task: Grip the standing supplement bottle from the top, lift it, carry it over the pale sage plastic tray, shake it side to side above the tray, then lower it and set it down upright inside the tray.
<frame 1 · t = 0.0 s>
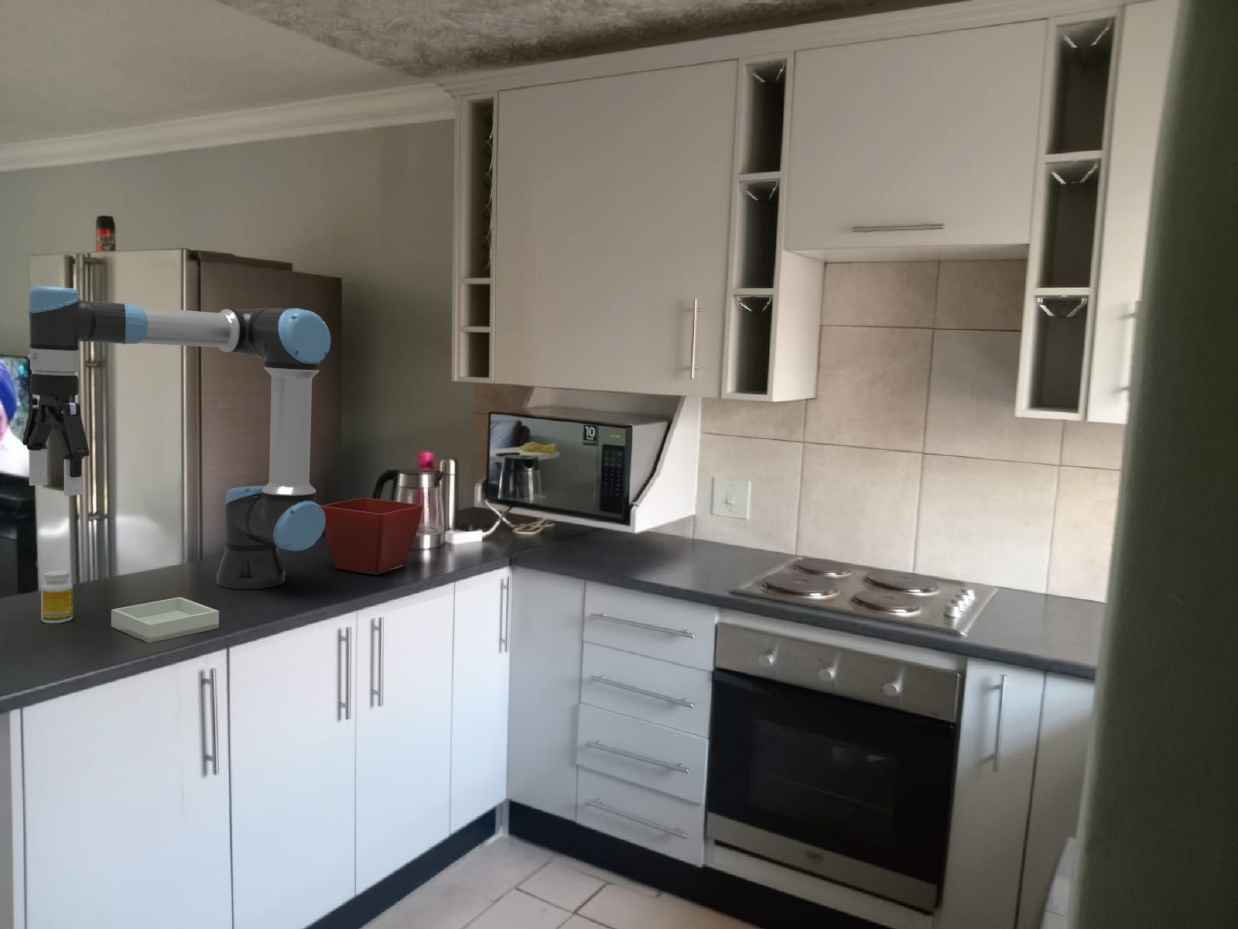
hand: (55, 490, 168), 28 cm above the worktop, tool pointing down, fingers open, 13 cm apart
plant pot: (370, 569, 239), on the worktop
supplement bottle: (57, 621, 181), on the worktop
tray: (165, 627, 181), on the worktop
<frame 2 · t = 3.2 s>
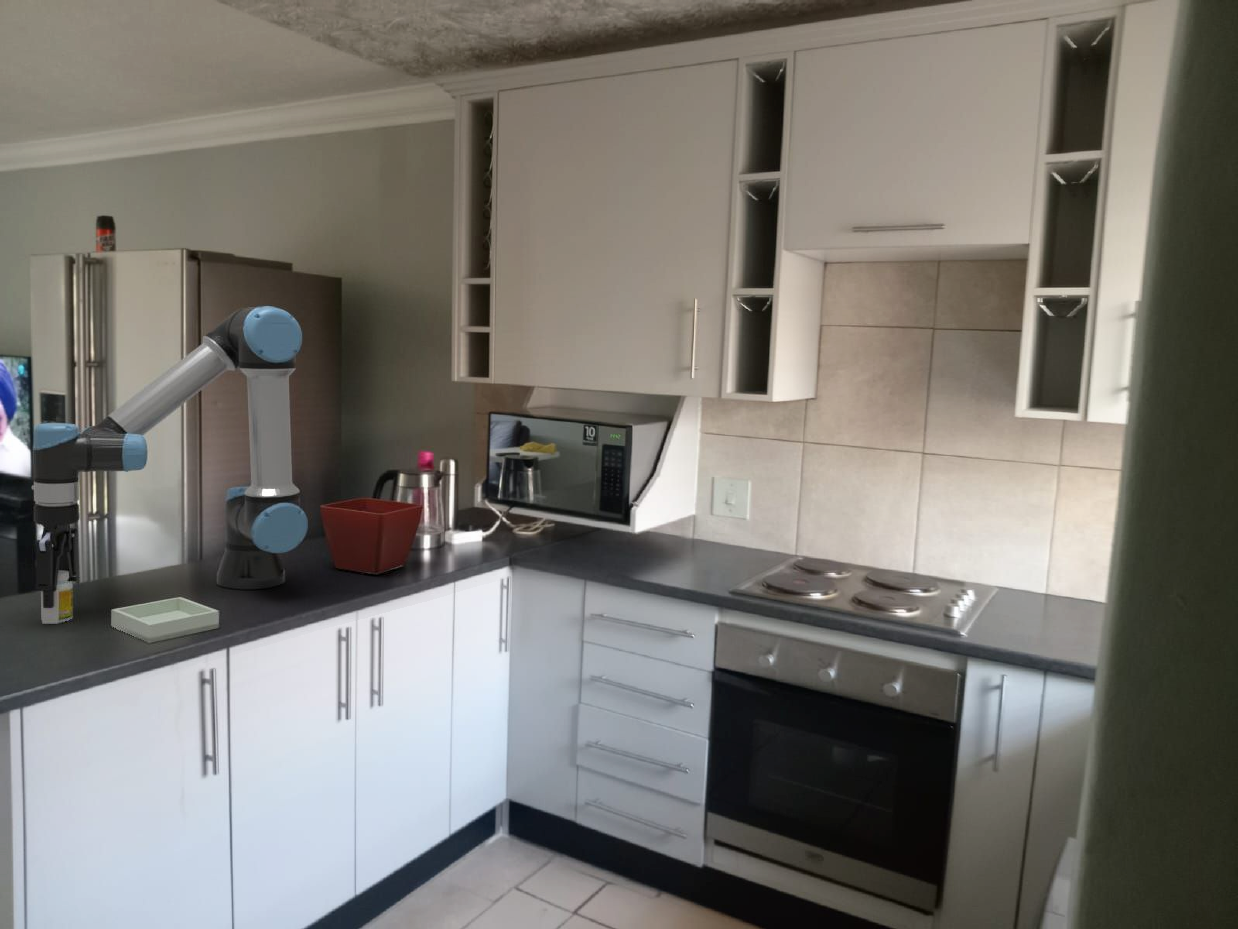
hand: (57, 618, 181), 0 cm above the worktop, tool pointing down, fingers closed on supplement bottle, 5 cm apart
supplement bottle: (57, 621, 181), on the worktop, touching gripper
everything else where it was.
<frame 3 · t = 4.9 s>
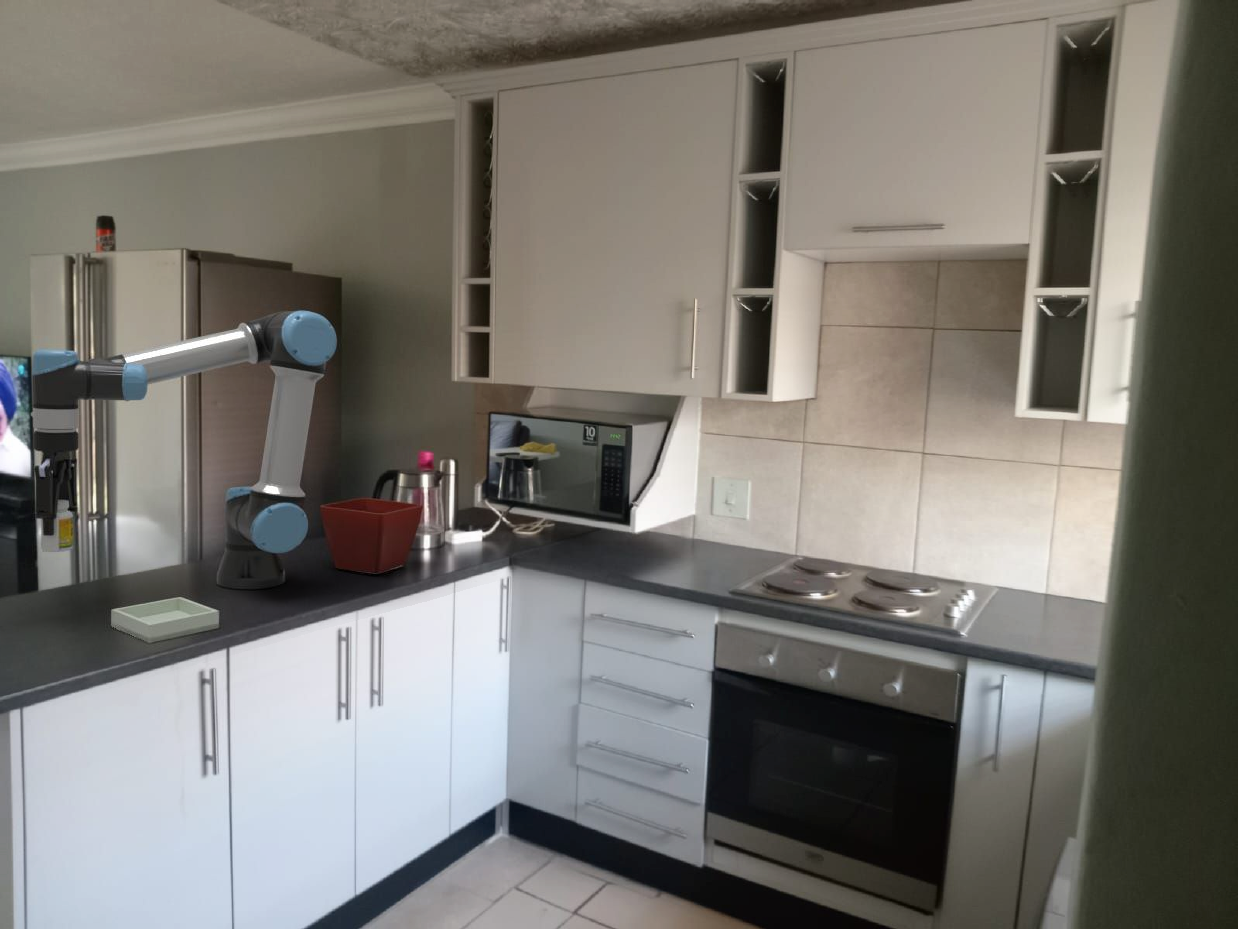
hand: (57, 547, 180), 15 cm above the worktop, tool pointing down, fingers closed on supplement bottle, 5 cm apart
supplement bottle: (57, 550, 180), point 14 cm above the worktop, touching gripper
everything else where it was.
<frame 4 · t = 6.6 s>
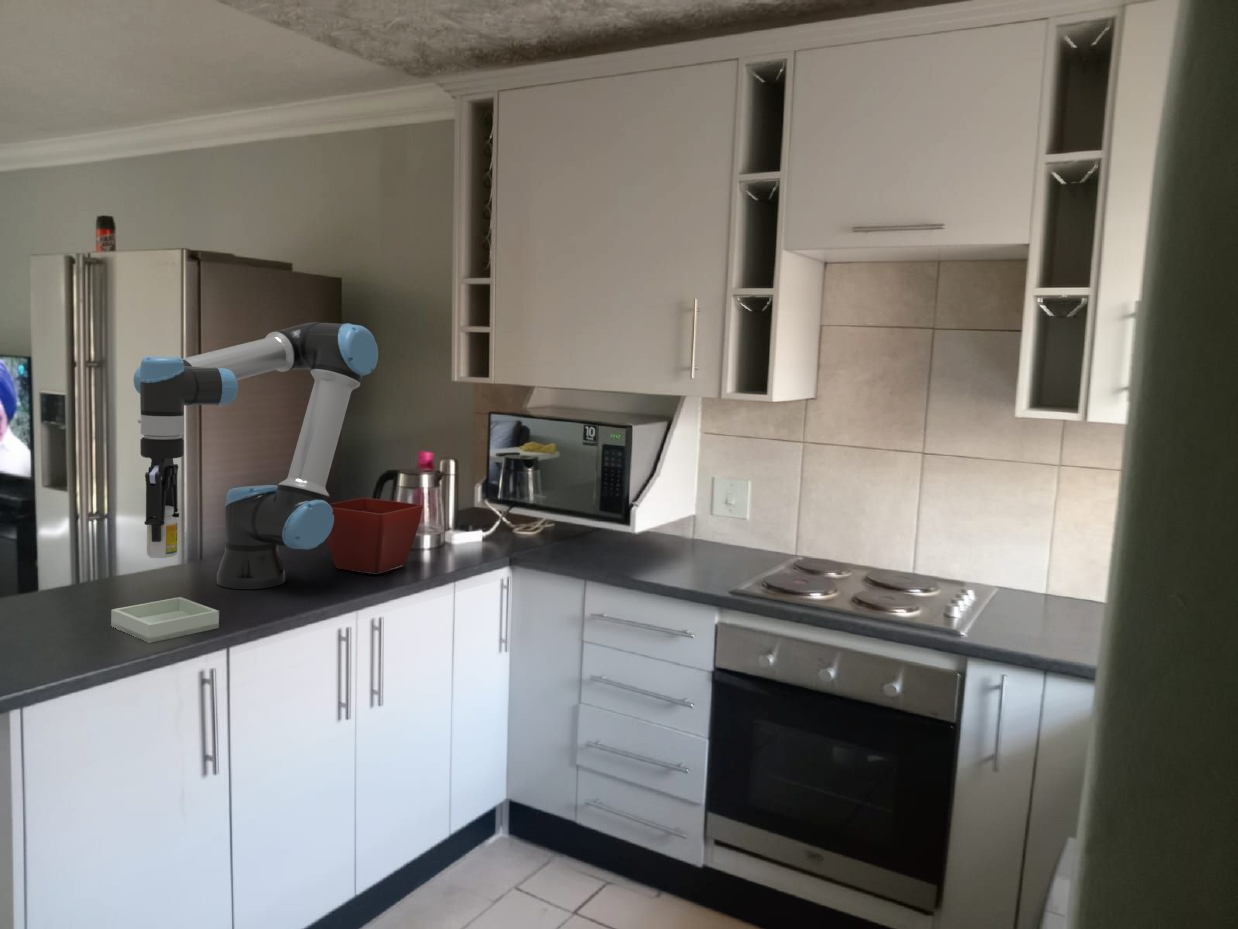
hand: (162, 553, 181), 15 cm above the worktop, tool pointing down, fingers closed on supplement bottle, 5 cm apart
supplement bottle: (162, 556, 181), point 14 cm above the worktop, touching gripper
everything else where it was.
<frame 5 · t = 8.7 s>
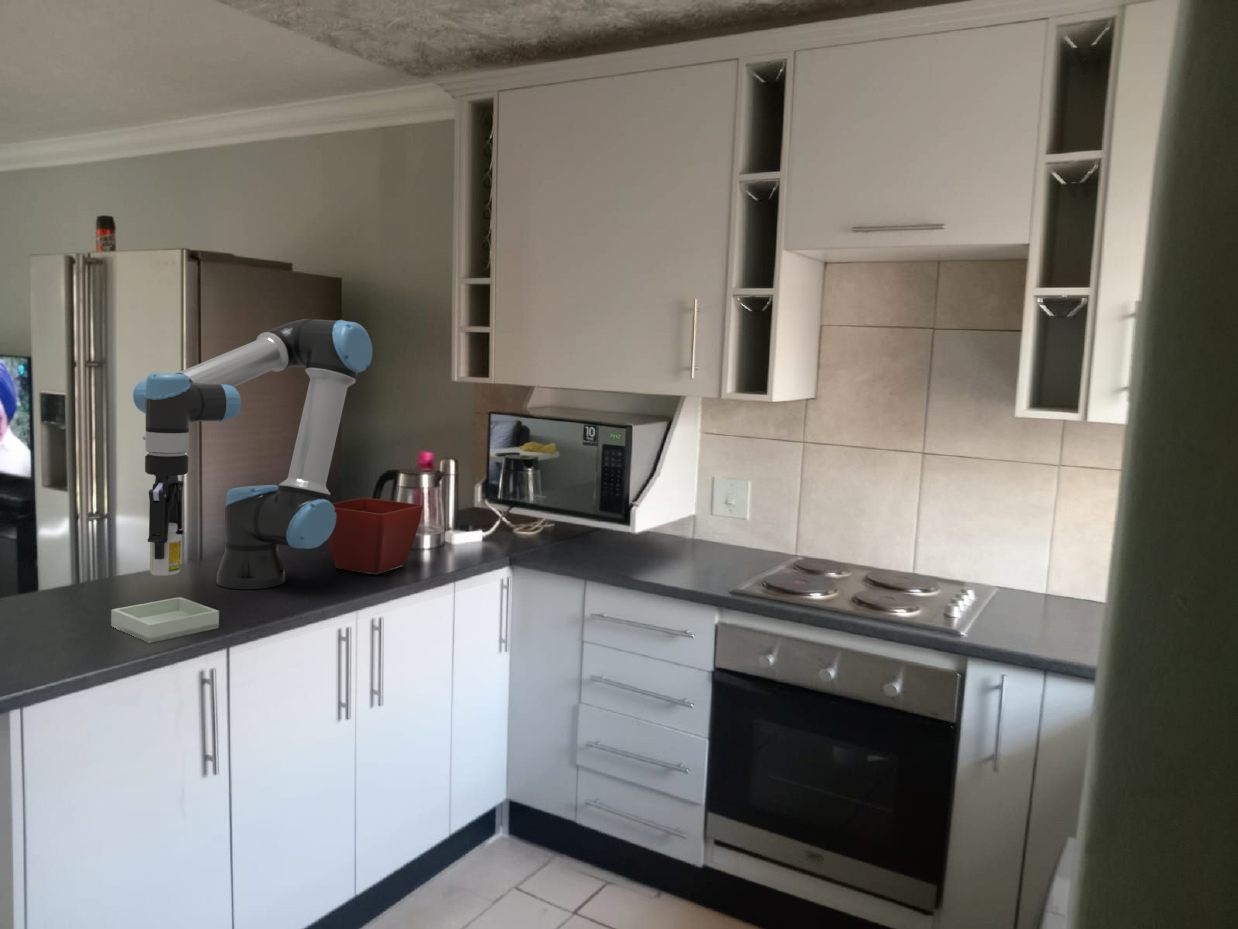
hand: (165, 570, 180), 11 cm above the worktop, tool pointing down, fingers closed on supplement bottle, 5 cm apart
supplement bottle: (165, 573, 180), point 11 cm above the worktop, touching gripper
everything else where it was.
when the fingers open (4 cm above the worktop, at t = 10.2 s): supplement bottle drops 2 cm, resting on tray.
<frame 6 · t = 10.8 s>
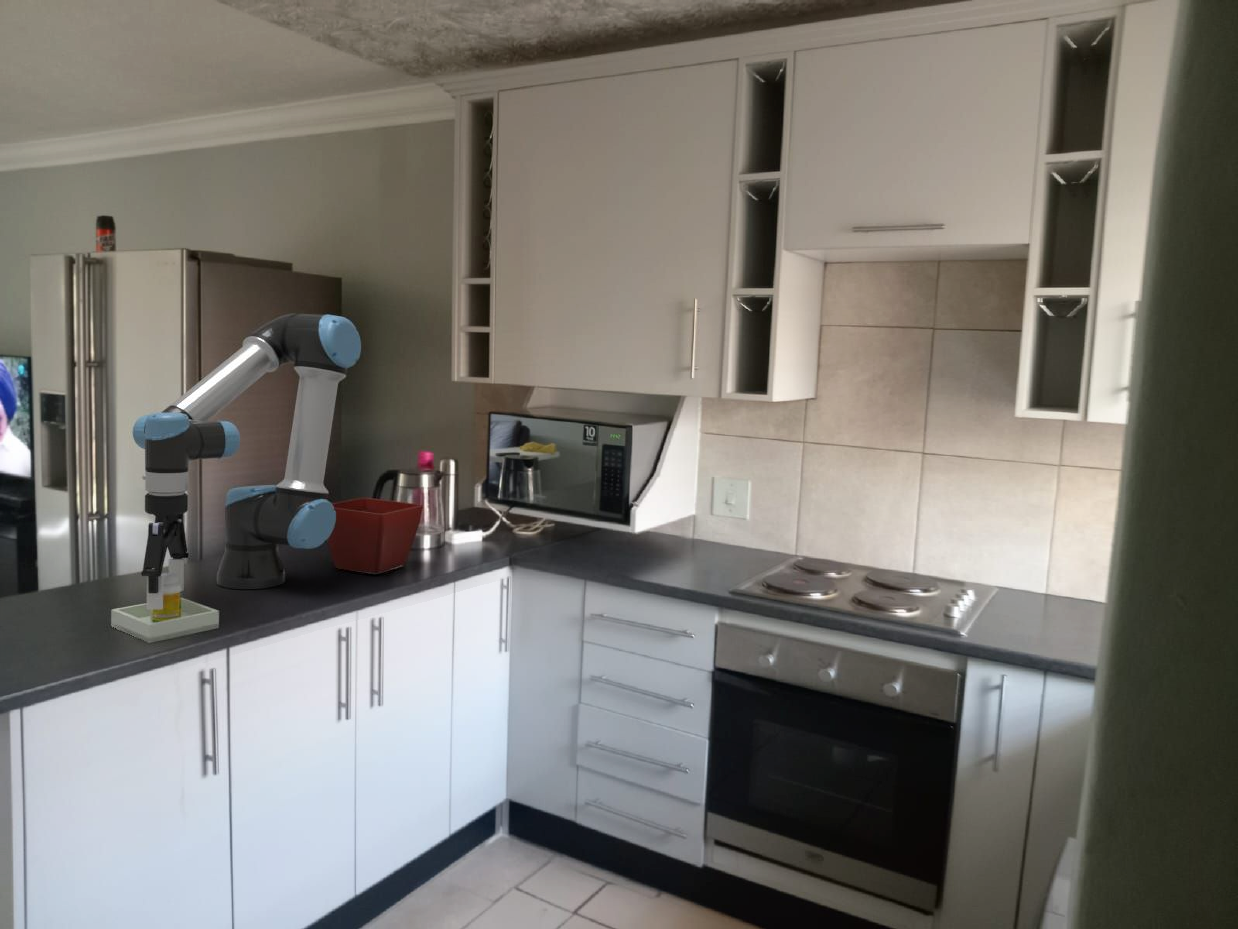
hand: (165, 599, 181), 6 cm above the worktop, tool pointing down, fingers open, 13 cm apart
supplement bottle: (165, 623, 181), point 1 cm above the worktop, touching tray
everything else where it was.
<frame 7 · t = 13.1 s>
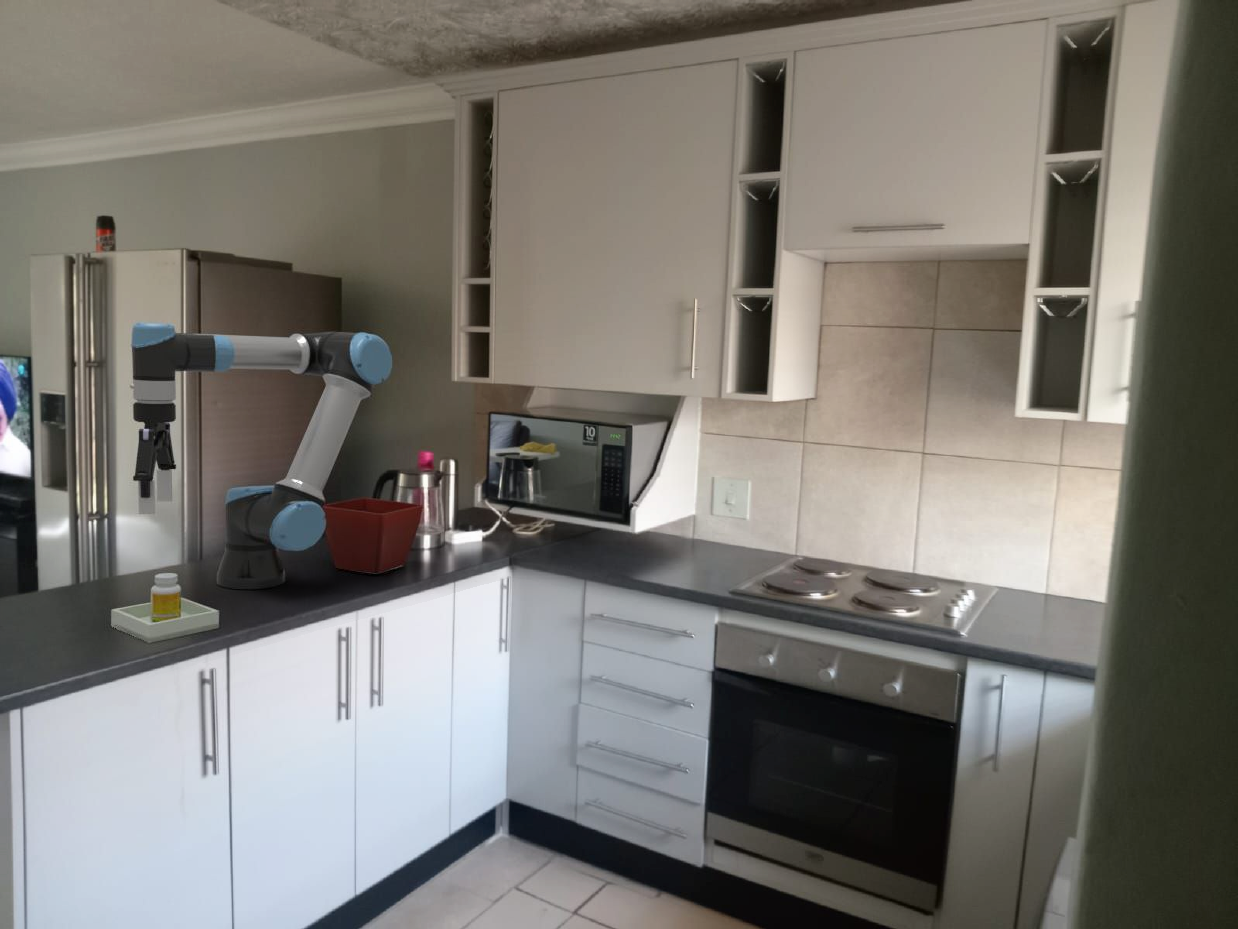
hand: (156, 507, 184), 23 cm above the worktop, tool pointing down, fingers open, 13 cm apart
nothing on the worktop moved.
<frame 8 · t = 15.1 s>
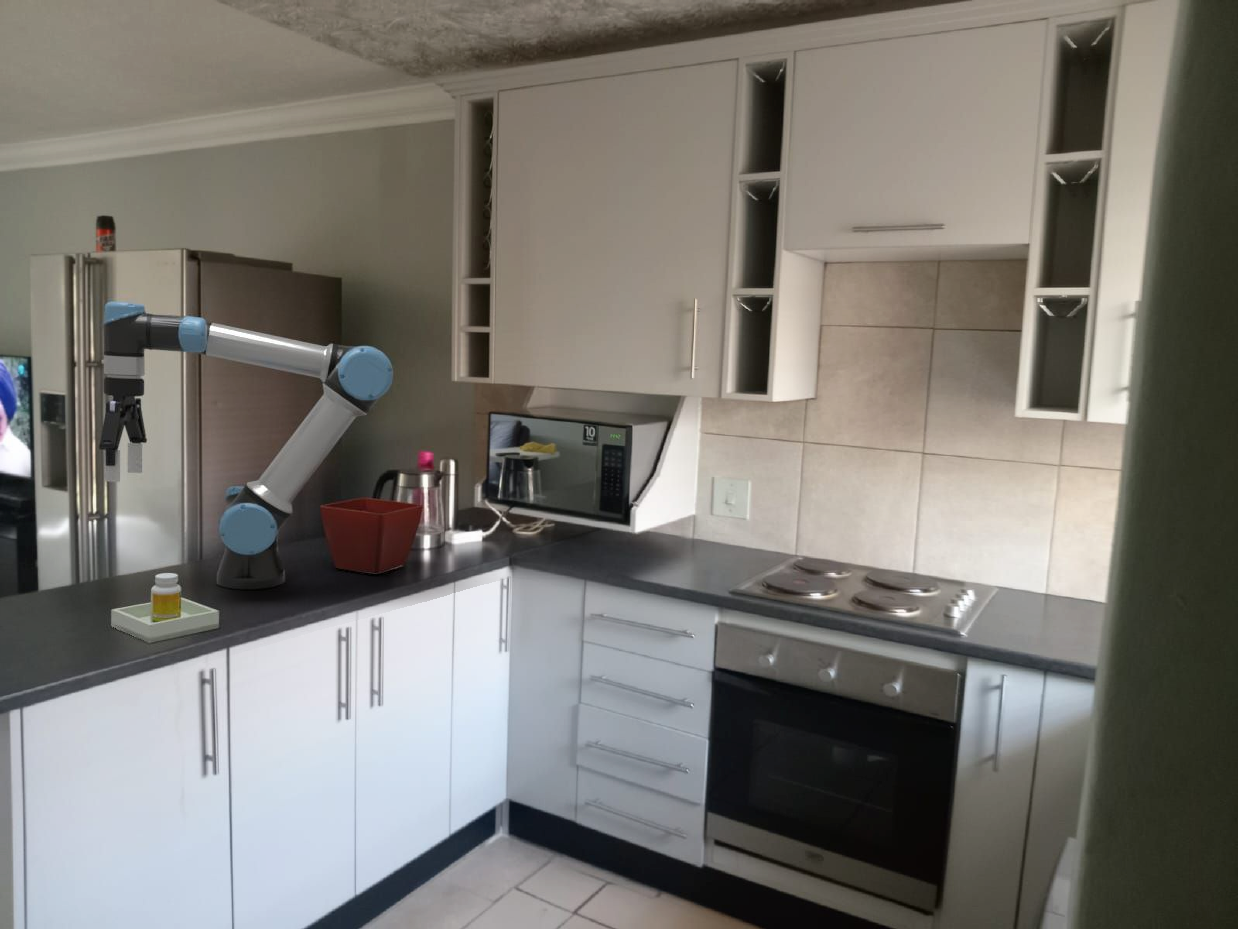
hand: (123, 477, 195), 27 cm above the worktop, tool pointing down, fingers open, 13 cm apart
nothing on the worktop moved.
at the end: supplement bottle inside the target area on the tray (0.2 cm from its centre), point 0.8 cm above the tray's base; supplement bottle tilted 0°; the gripper is holding nothing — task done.
